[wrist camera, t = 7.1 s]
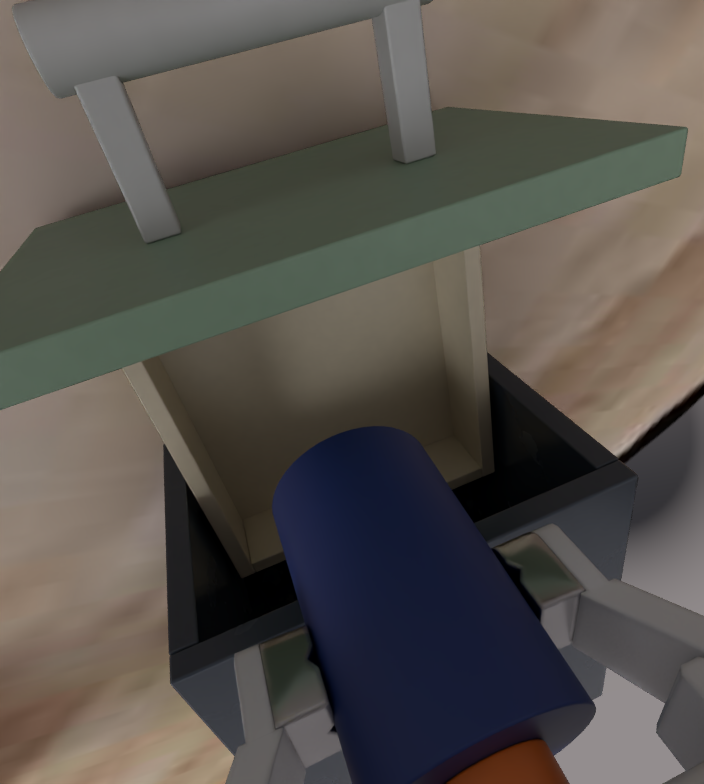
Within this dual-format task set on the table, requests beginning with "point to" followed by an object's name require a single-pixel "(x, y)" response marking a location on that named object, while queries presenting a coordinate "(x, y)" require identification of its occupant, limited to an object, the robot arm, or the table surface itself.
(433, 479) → the glue bottle
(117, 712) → the table surface
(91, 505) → the table surface
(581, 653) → the drawer unit
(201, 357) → the drawer
